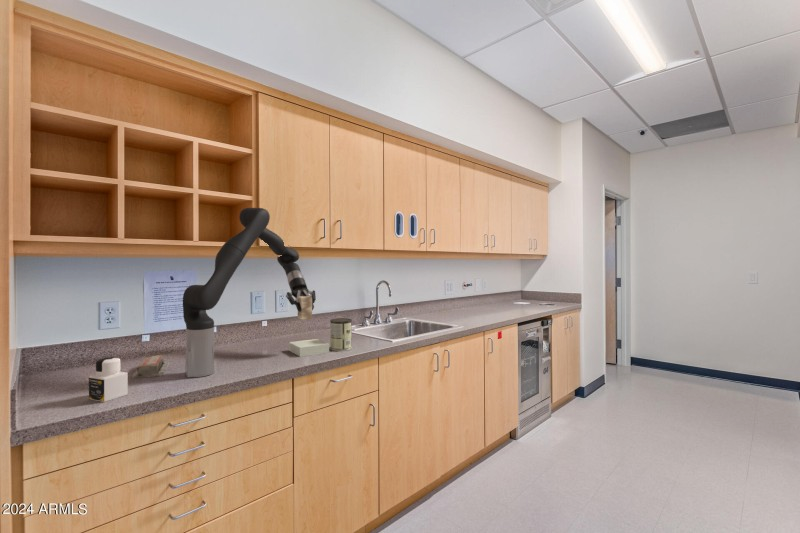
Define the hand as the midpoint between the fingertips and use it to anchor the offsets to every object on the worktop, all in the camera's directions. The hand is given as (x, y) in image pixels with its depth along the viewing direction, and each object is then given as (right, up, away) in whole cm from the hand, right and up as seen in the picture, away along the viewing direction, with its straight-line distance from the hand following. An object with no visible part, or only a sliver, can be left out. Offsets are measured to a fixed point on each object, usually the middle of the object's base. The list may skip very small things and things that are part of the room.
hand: (306, 309), depth 175 cm
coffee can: (+14, -20, +11) cm, 27 cm away
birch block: (-1, -4, +2) cm, 5 cm away
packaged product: (-53, -21, -27) cm, 63 cm away
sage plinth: (0, -20, +5) cm, 21 cm away
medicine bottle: (-48, -21, -56) cm, 76 cm away
